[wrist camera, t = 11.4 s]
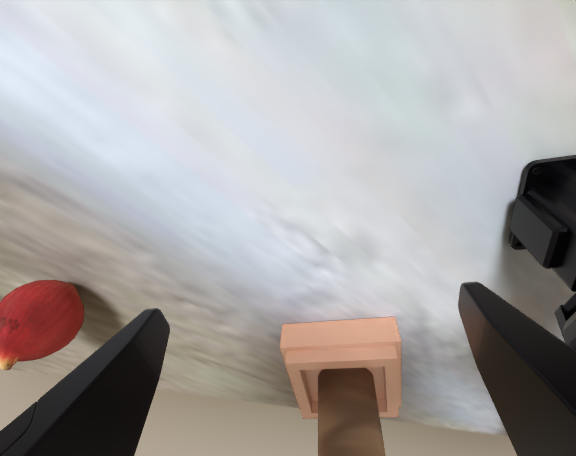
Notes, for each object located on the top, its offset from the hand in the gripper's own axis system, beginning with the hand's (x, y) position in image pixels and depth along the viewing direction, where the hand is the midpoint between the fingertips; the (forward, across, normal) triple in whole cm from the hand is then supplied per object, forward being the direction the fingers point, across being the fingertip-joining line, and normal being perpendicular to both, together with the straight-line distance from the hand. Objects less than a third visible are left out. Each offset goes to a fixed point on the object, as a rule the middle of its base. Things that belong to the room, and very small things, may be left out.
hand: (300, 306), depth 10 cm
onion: (+13, +23, +9) cm, 28 cm away
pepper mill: (+10, 0, +21) cm, 23 cm away
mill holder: (+13, 0, +21) cm, 25 cm away
